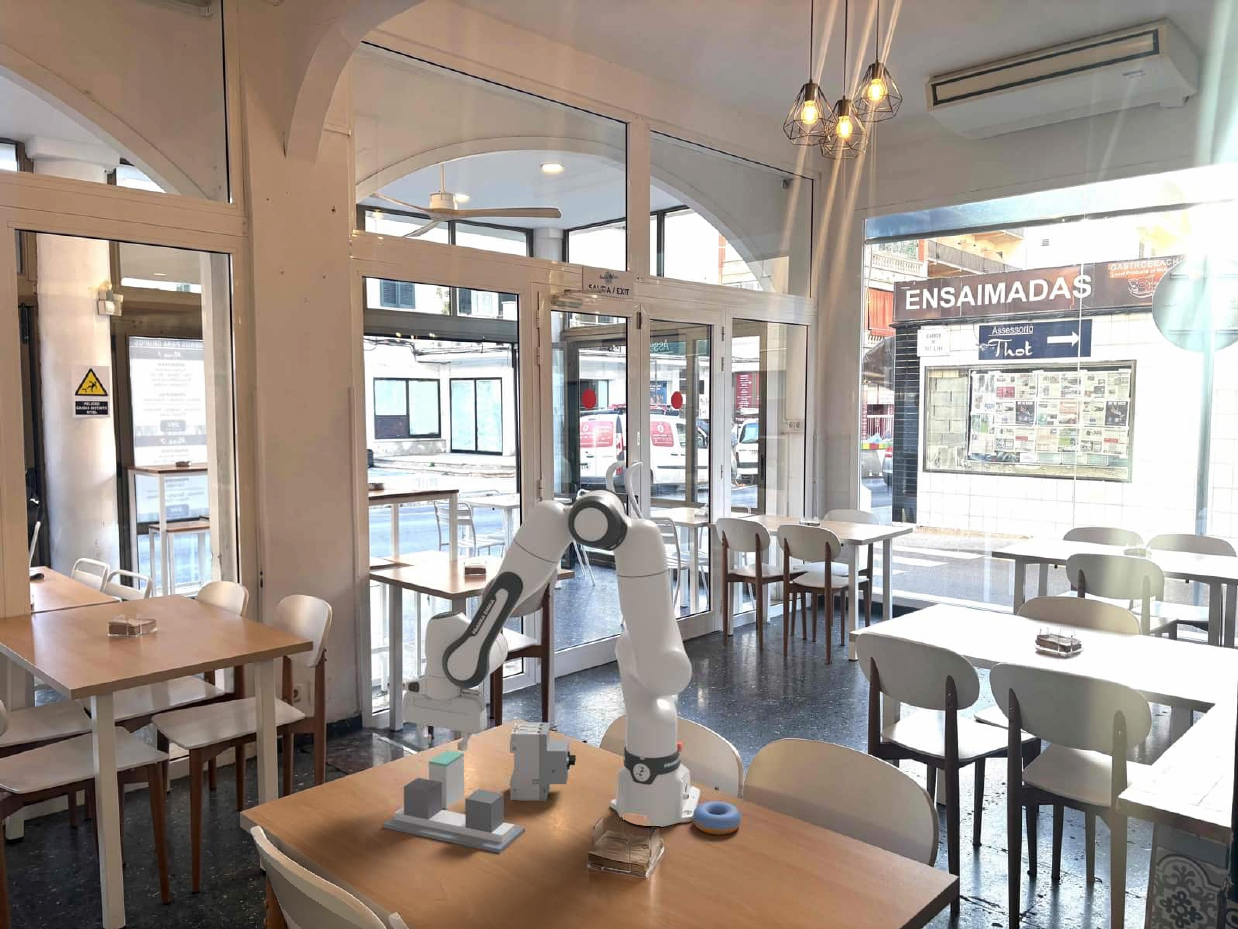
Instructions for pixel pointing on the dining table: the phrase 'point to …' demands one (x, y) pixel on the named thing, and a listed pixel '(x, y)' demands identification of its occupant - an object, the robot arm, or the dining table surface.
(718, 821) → the doughnut
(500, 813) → the rail assembly
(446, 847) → the dining table surface
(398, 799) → the dining table surface
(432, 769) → the block
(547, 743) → the circuit breaker
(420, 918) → the dining table surface
